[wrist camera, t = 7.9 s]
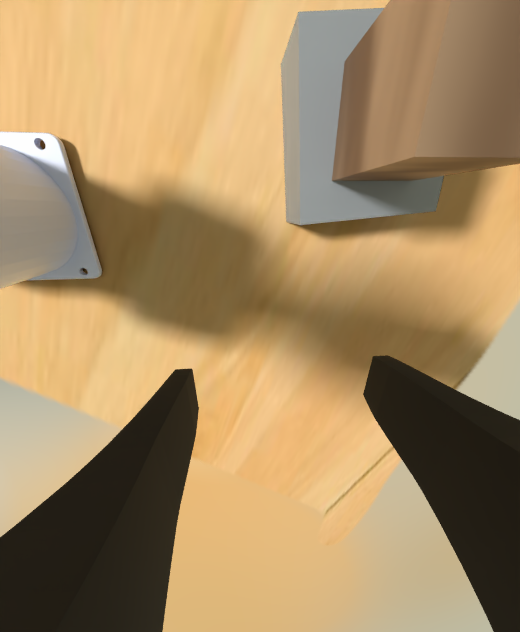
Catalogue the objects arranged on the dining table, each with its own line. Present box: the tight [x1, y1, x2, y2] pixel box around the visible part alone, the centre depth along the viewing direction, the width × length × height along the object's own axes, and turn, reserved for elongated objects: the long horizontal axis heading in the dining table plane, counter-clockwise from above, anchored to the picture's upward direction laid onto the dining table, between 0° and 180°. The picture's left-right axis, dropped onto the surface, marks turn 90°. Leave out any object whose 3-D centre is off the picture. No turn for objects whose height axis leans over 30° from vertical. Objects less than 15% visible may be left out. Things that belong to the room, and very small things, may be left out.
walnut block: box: [332, 0, 520, 181], centre depth 8 cm, size 4×4×6 cm
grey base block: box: [281, 8, 444, 225], centre depth 13 cm, size 8×8×4 cm
